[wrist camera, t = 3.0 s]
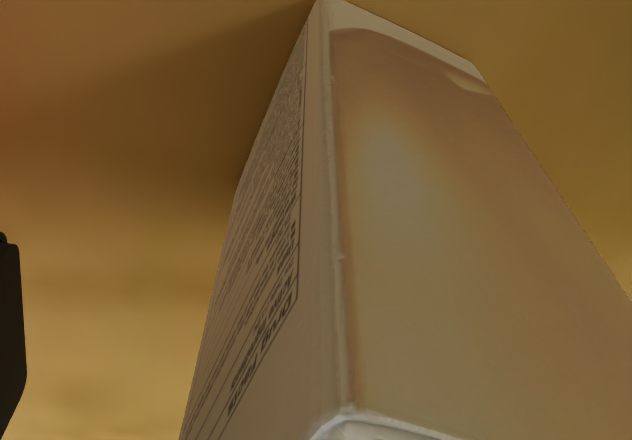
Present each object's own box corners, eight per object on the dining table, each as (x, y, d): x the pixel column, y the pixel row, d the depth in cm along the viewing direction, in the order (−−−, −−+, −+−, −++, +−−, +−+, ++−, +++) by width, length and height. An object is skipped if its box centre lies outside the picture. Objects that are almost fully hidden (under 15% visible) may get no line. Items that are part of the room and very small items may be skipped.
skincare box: (368, 244, 18) (426, 803, 8) (229, 194, 17) (94, 756, 7) (486, 50, 15) (853, 583, 5) (323, -27, 14) (326, 433, 4)
